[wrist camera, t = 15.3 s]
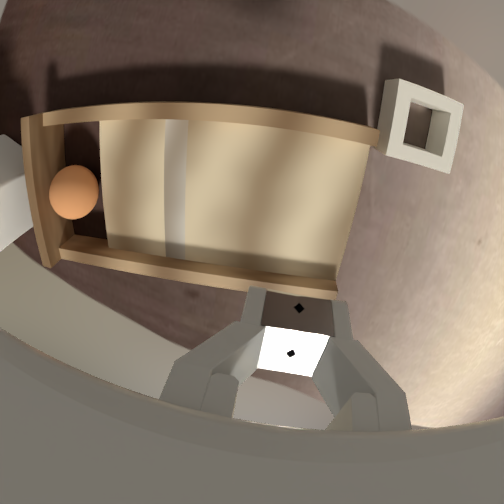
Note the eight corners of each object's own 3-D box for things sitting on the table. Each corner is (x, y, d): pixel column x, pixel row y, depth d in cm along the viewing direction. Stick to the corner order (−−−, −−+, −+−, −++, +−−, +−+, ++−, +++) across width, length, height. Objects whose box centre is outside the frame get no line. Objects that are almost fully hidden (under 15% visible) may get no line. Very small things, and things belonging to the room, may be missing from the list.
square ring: (444, 101, 14) (463, 104, 12) (432, 164, 17) (449, 174, 15) (384, 80, 15) (399, 78, 12) (373, 147, 17) (386, 155, 15)
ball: (76, 175, 15) (36, 173, 15) (82, 231, 17) (43, 225, 17) (107, 159, 19) (68, 158, 19) (109, 209, 21) (71, 204, 21)
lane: (368, 126, 16) (389, 133, 13) (330, 282, 22) (337, 316, 19) (55, 110, 17) (20, 118, 13) (68, 243, 23) (43, 266, 19)
